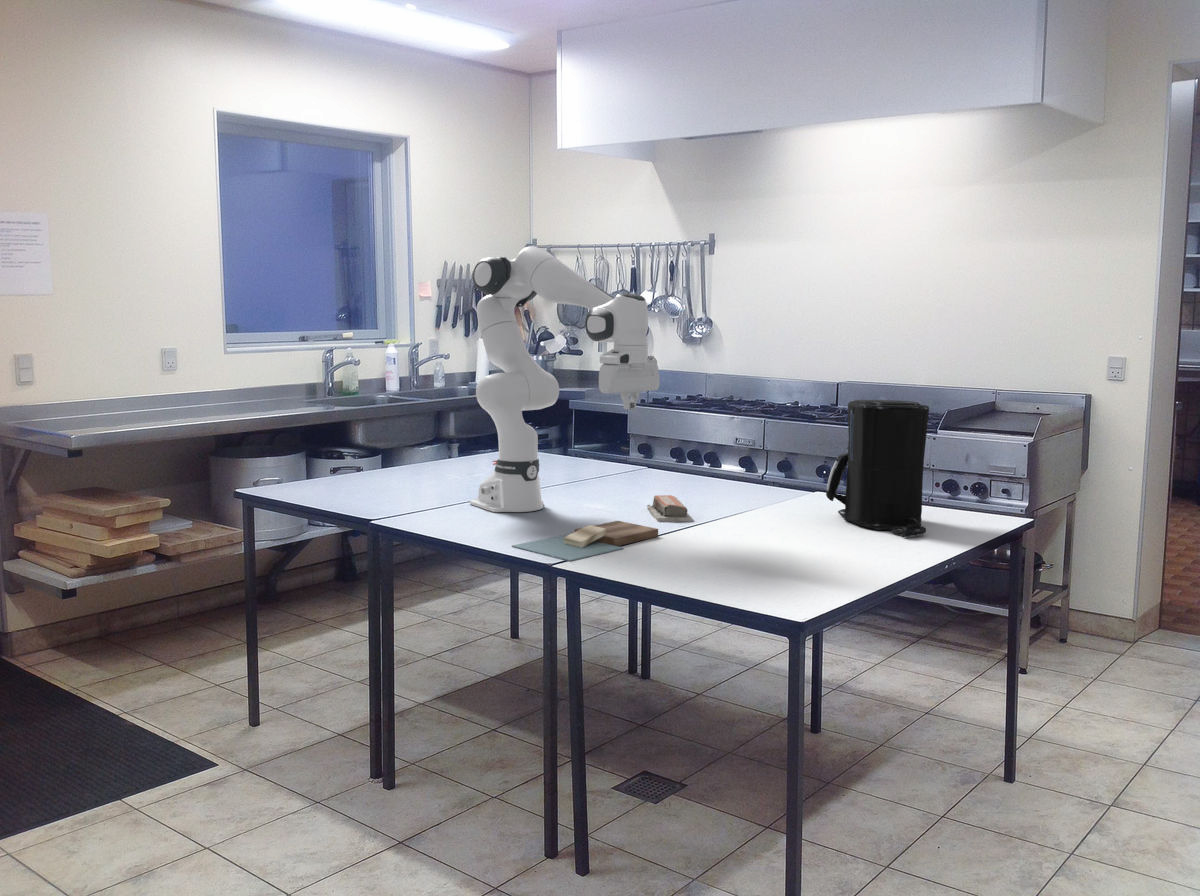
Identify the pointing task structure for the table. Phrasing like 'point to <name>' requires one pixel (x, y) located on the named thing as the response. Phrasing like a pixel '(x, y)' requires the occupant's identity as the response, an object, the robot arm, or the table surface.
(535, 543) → the rubber mat
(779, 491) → the table surface
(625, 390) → the robot arm
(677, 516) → the packaged product
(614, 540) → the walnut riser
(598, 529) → the birch block
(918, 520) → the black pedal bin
